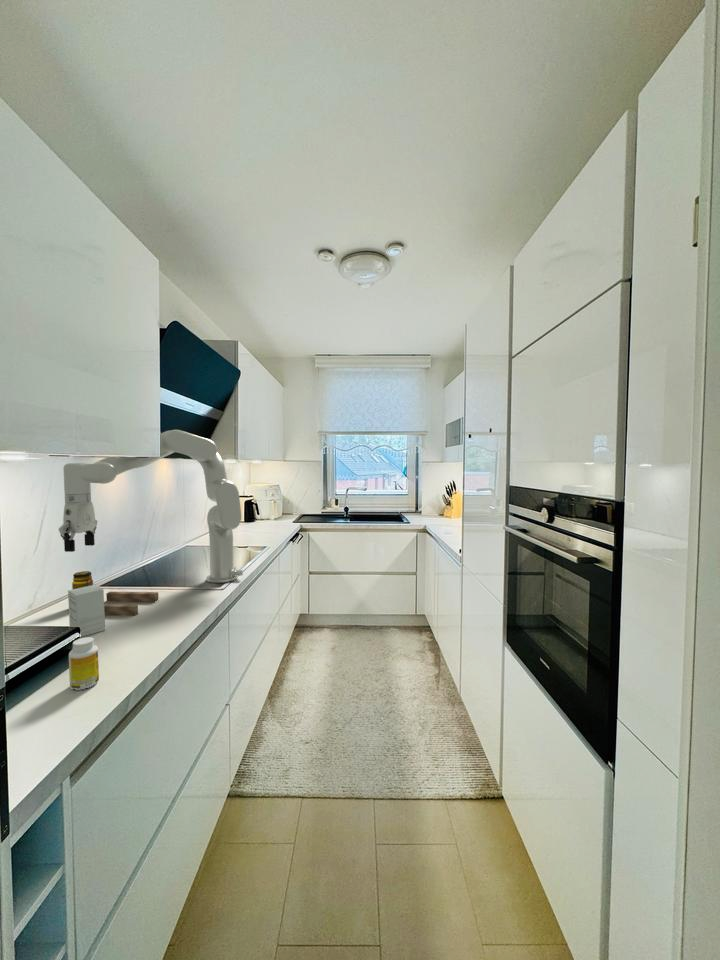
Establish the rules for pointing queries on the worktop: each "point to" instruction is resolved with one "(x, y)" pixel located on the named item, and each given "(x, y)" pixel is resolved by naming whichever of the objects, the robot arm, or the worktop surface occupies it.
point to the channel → (127, 597)
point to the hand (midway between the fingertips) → (80, 548)
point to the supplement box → (87, 609)
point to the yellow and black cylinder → (82, 579)
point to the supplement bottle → (83, 664)
